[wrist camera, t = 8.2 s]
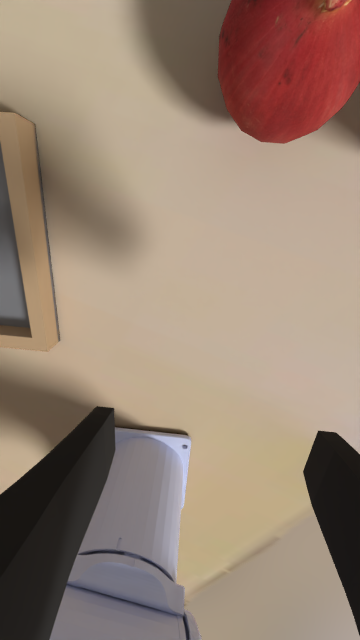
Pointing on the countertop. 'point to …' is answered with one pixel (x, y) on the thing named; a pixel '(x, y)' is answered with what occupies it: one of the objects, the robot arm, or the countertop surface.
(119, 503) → the robot arm
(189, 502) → the countertop surface
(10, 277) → the slate tray
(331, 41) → the onion
